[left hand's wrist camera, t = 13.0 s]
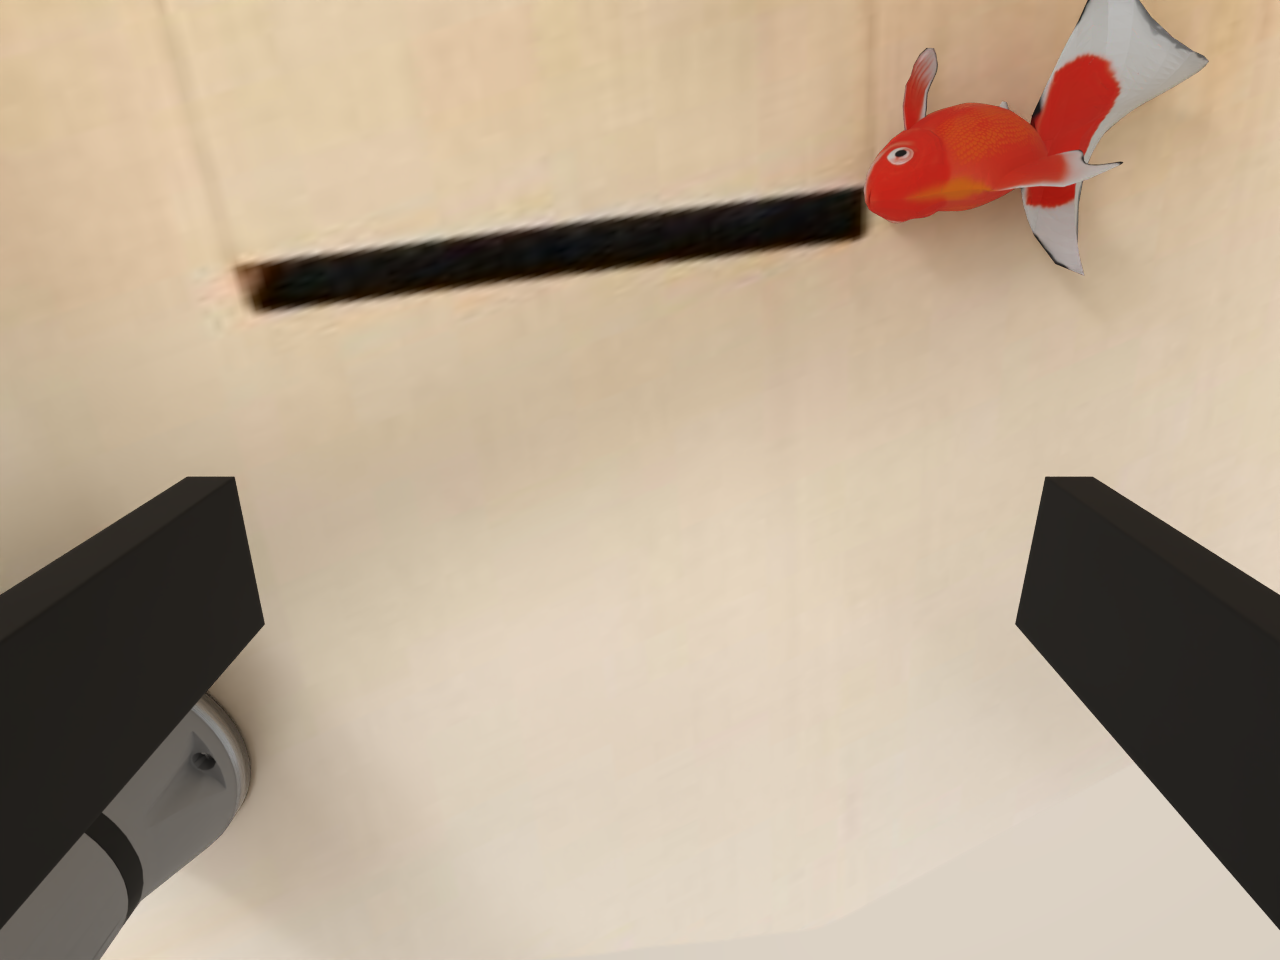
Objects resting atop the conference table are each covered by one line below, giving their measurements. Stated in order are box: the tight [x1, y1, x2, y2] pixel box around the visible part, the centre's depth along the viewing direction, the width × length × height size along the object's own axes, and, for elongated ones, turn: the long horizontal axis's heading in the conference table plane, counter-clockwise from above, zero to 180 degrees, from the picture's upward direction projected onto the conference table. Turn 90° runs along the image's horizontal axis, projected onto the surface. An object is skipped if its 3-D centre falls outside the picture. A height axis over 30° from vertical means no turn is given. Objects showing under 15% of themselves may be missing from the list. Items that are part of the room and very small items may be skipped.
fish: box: [864, 0, 1209, 275], centre depth 33 cm, size 11×16×10 cm
